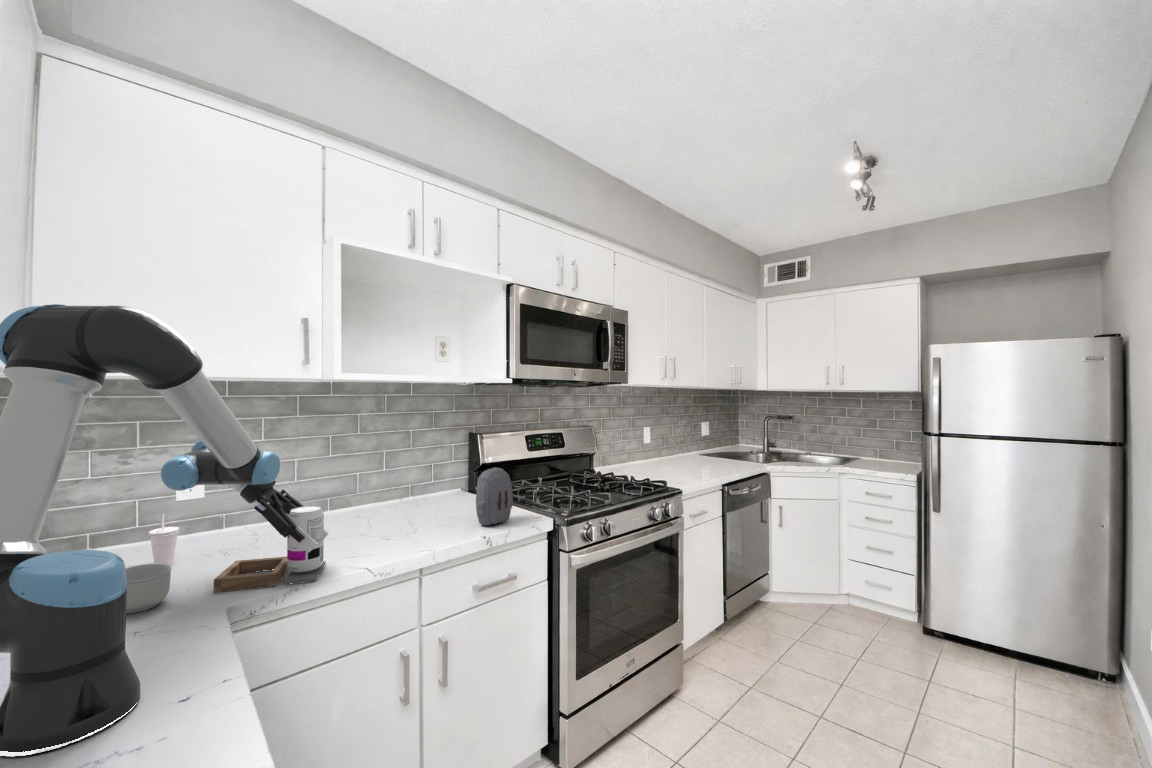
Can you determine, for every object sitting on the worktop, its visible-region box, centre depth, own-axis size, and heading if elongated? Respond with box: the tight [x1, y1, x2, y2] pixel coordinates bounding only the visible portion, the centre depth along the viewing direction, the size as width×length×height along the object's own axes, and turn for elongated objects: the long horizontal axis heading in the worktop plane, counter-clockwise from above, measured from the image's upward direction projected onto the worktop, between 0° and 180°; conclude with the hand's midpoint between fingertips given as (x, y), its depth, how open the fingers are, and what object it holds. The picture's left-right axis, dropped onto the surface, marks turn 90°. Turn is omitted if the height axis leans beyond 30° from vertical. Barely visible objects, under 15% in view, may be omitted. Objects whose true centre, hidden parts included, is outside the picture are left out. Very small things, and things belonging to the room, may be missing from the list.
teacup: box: [125, 562, 173, 614], centre depth 106 cm, size 14×11×8 cm
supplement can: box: [286, 505, 325, 572], centre depth 126 cm, size 8×8×15 cm
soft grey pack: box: [475, 467, 514, 526], centre depth 173 cm, size 15×8×20 cm, turn 142°
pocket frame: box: [213, 556, 290, 593], centre depth 123 cm, size 13×13×3 cm
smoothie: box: [148, 513, 180, 567], centre depth 132 cm, size 6×6×14 cm
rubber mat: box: [282, 560, 327, 585], centre depth 126 cm, size 12×7×1 cm, turn 16°
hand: (319, 542), depth 127 cm, fingers closed on supplement can, 8 cm apart
